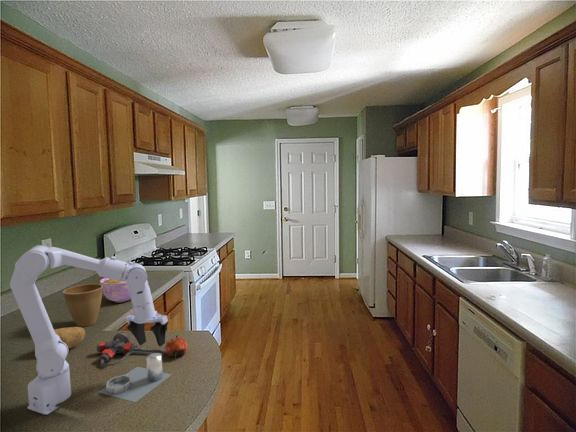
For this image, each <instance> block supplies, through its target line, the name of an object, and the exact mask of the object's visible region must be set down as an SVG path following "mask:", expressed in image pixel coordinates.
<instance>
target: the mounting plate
mask: <svg viewBox="0 0 576 432" xmlns="http://www.w3.org/2000/svg"><path fill="white" fill-rule="evenodd" d="M162 372H163V378H162V379H161V380H159V381H157V382H149V381H148V379H147V367H146V368H145V367H140V366H136V367H134V368H133V369H131V370H130V371H129V372H127V373H124V375H128V376H132V387H131V388H130V389H128V390H127V391H126V392H123V393H119V394H114V395H113V394H109V393H107V392H106V386H105V387H104V388H102V389H101V390H99V391H98V393H100V394H103V395H106V396H111V397H113V398H117V399H121V400H124V401H128V402H132V403H137V402H138V401H140V400H141V399H142V398H143V397H144V396H146V395H147V394H149V393H150V392H151V391H152V390H154V389H155V388H156V387H158V386H159V385H161V383H164V381H166V380H167V379H168V378H169V377H171V376H172V373H167V372H164V371H162ZM126 383H128V382H125V381H124V382H119V383H115V384H114V385H112V386H111V387H118V386H123V385H125V384H126Z"/></svg>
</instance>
